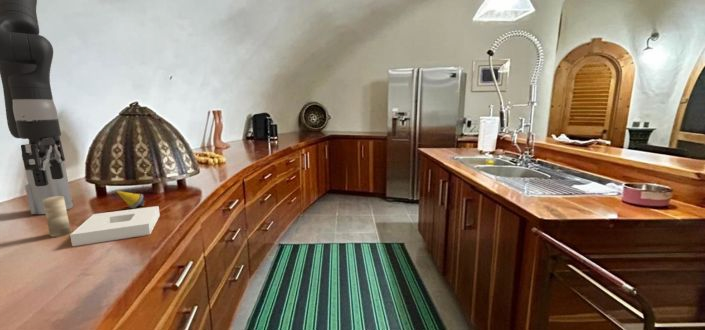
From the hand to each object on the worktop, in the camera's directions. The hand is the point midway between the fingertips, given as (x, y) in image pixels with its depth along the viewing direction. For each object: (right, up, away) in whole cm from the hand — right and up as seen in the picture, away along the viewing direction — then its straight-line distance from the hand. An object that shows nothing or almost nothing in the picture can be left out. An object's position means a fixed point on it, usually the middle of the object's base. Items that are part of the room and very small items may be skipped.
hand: (50, 182), depth 79 cm
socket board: (+14, -13, +6) cm, 20 cm away
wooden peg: (0, -14, +3) cm, 14 cm away
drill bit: (+5, -10, +23) cm, 26 cm away
